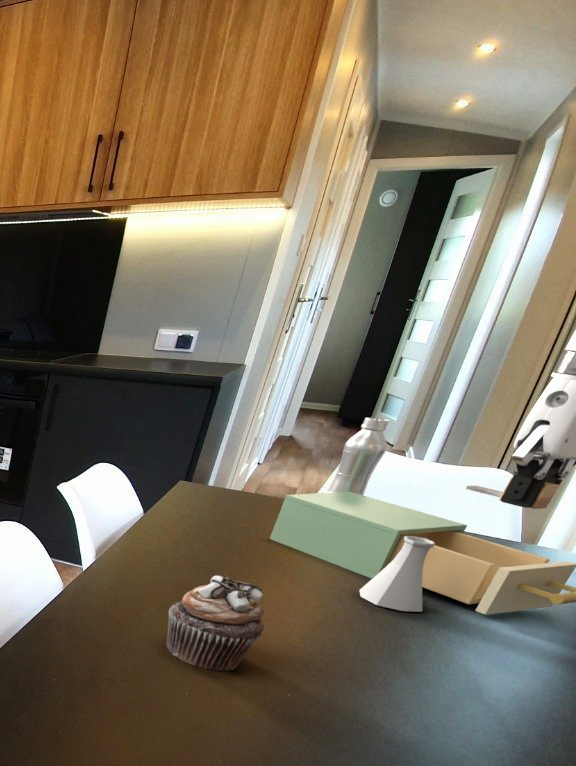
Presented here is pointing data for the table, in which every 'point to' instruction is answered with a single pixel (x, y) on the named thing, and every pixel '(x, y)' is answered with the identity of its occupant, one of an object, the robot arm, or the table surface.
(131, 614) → the table surface
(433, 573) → the drawer
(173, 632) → the cupcake
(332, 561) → the cabinet
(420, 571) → the flask
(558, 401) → the robot arm
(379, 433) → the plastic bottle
